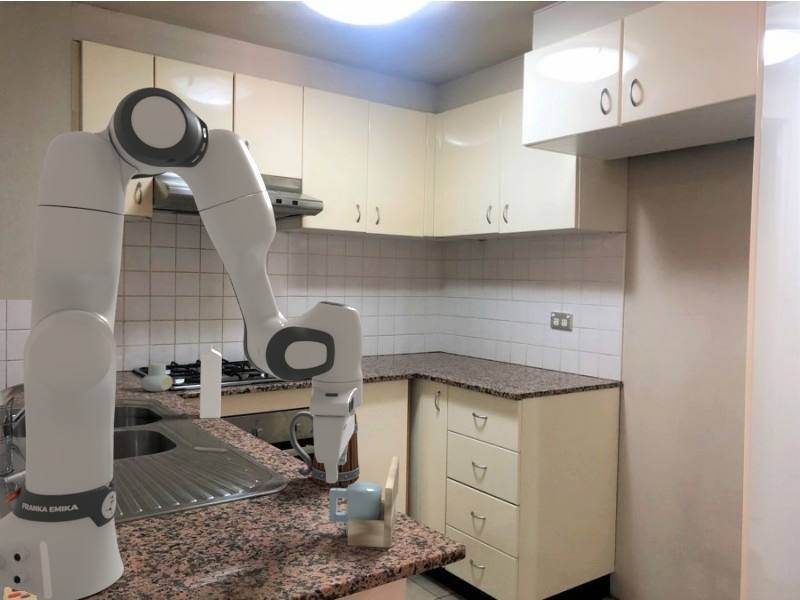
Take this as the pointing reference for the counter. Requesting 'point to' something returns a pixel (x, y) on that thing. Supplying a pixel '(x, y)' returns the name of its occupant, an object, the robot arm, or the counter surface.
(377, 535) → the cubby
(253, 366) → the robot arm
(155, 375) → the air freshener
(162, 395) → the counter surface
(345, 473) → the mug
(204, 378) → the milk
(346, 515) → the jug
